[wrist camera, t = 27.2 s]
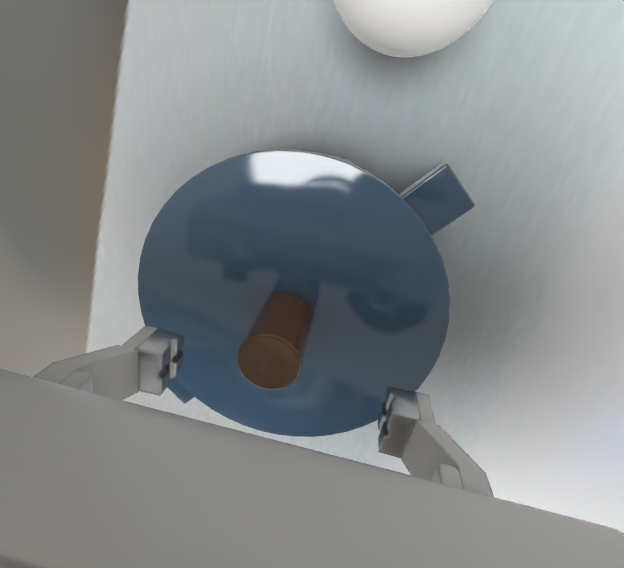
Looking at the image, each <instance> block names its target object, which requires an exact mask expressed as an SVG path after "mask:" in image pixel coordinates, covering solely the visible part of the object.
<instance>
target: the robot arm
mask: <svg viewBox="0 0 624 568" xmlns="http://www.w3.org/2000/svg"><path fill="white" fill-rule="evenodd" d="M183 346H184V336H183V335H180V334H177V333H173V332H169V331H166V330H162V329H158V328H154V327H150V326H145V327H143V328H142V329H141V330H140V331H139V332H137V333H136V334H135V335H134V336H133V337H131V338H130V339H129V340H128V341H127V342H125V343H124V344H123V345H122V346H120V345H116V346H112V347H109V348H105V349H101V350H98V351H94V352H90V353H86V354H83V355H79V356H75V357H72V358H68V359H64V360H60V361H57V362H54V363H52V364H50V365H49V366H48V367H46V368H45V369H43V370H42V371H41V372H39V373H38V374H36V375H35V376H34V377H30V376H26V375H22V374H18V373H14V372H10V371H7V370H2V369H0V568H624V533H622V532H620V531H618V530H616V529H613V528H610V527H607V526H603V525H599V524H596V523H592V522H588V521H584V520H580V519H576V518H572V517H569V516H565V515H561V514H557V513H553V512H549V511H545V510H541V509H537V508H534V507H530V506H526V505H522V504H518V503H514V502H510V501H506V500H503V499H499V498H495V497H494V496H493V493H492V490H491V487H490V484H489V481H488V478H487V475H486V473H485V472H484V471H483V470H482V469H481V468H480V467H479V466H478V465H477V464H476V463H475V462H474V461H473V460H472V459H471V458H470V457H469V456H468V454H467V453H466V452H465V451H464V450H463V449H462V448H461V447H460V446H459V445H458V444H457V443H456V442H455V441H454V440H453V439H452V438H451V437H450V436H449V435H448V434H447V433H446V432H445V431H444V430H443V429H442V427H441V426H439V425H436V423H435V419H434V414H433V410H432V406H431V401H430V397H429V395H428V394H423V393H419V392H412V391H408V390H404V389H400V388H395V387H391V386H388V388H387V390H386V393H385V402H384V403H382V405H381V409H380V413H379V418H378V429H379V431H380V434H379V437H378V445H379V452H381V453H384V454H388V455H391V456H395V457H398V458H402V461H403V463H404V464H405V466H406V468H407V469H408V471H409V472H410V474H411V475H407V474H403V473H399V472H395V471H391V470H388V469H384V468H380V467H376V466H372V465H368V464H365V463H361V462H357V461H353V460H349V459H345V458H341V457H338V456H334V455H330V454H326V453H322V452H318V451H315V450H311V449H307V448H303V447H299V446H295V445H291V444H288V443H284V442H280V441H276V440H272V439H268V438H264V437H261V436H257V435H253V434H249V433H245V432H241V431H238V430H234V429H230V428H226V427H222V426H218V425H214V424H211V423H207V422H203V421H199V420H195V419H191V418H188V417H184V416H180V415H176V414H172V413H168V412H165V411H161V410H157V409H153V408H149V407H145V406H141V405H138V404H134V403H130V402H126V401H122V400H123V399H125V398H127V397H129V396H131V395H133V394H135V393H137V392H138V391H142V392H146V393H151V394H155V395H161V394H162V393H163V392H164V390H165V389H166V388H167V387H168V386H169V380H170V379H172V378H174V377H176V375H177V374H178V373H179V371H180V369H181V367H182V363H183V356H184V354H183V352H182V351H181V348H182V347H183Z"/></svg>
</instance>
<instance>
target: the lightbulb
mask: <svg viewBox="0 0 624 568" xmlns="http://www.w3.org/2000/svg"><path fill="white" fill-rule="evenodd" d="M493 2H494V0H333V3H334V5H335V8H336V10H337V12H338V14H339V16H340V18H341V19H342V21H343V22H344V24H345V25H346V27H347V28H348V29H349V30H350V32H351V33H352V34H353V35H354V36H355V37H356V38H357V39H358V40H359V41H361V42H362V43H363V44H364V45H366V46H367V47H369V48H371V49H373V50H375V51H377V52H379V53H382V54H385V55H388V56H393V57H404V58H405V57H417V56H422V55H426V54H430V53H433V52H435V51H438V50H440V49H442V48H444V47H446V46H448V45H449V44H451V43H453V42H454V41H456V40H457V39H459V38H460V37H461V36H463V35H464V34H465V33H466V32H467V31H469V30H470V29H471V28H472V27H473V26H474V25H475V24H476V23H477V22H478V21H479V20H480V19H481V17H482V16H483V15H484V14H485V13H486V11H487V10H488V9H489V7H490V6H491V5H492V3H493Z"/></svg>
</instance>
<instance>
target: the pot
mask: <svg viewBox="0 0 624 568" xmlns="http://www.w3.org/2000/svg"><path fill="white" fill-rule="evenodd" d="M329 156H330V155H329ZM332 157H335V158H338V159H341V160H344V161H347V162H350V163H352V162H351V161H349V160H347V159H345V158H344V157H338V156H332ZM352 164H354V163H352ZM354 165H356V164H354ZM356 166H357V165H356ZM358 167H359V166H358ZM360 168H361V167H360ZM362 169H363V168H362ZM364 170H365V169H364ZM374 176H375V175H374ZM377 178H378V177H377ZM379 179H380V178H379ZM380 180H381V179H380ZM382 181H383V180H382ZM383 182H384V181H383ZM399 195H400V196H401V197H402V198H403V199H405V200H406V201H407V202H408V204H409V205H410V206H411V207H412V209H413V210H414V211H415V212H416V213H417V215H418V216H419V217H420V218H421V220H422V221H423V223H424V224H425V226H426V227H427V229H428V231H429V232H430V234H431V236H432V235H434V234H435V233H437V232H438V231H439V230H441V229H442V228H444V227H445V226H447V225H448V224H450V223H451V222H453V221H454V220H456V219H457V218H459V217H460V216H462V215H463V214H465V213H466V212H467V211H469V210H470V209H472V208H473V207H474V206H475V204H474V203H473V201H472V200H471V198H470V197H469V195H468V194H467V192H466V191H465V189H464V188H463V186H462V185H461V183H460V182H459V180H458V179H457V177H456V176H455V174H454V173H453V171H452V170H451V168H450V167H449V165H448V164H446V163H443V162H442V163H440V164H439V165H438V166H436V167H435V168H434V169H432V170H431V171H429V172H428V173H427V174H425V175H424V176H423V177H421V178H420V179H419V180H417V181H416V182H415V183H413V184H412V185H411V186H409V187H408V188H407V189H405V190H404V191H403V192H401V193H400V194H399ZM168 388H169V389H170V390H171V391H172V392H173V393H174V394H175V395H176V396H177V397H178V398H179V399H180V400H181V401H182V402H183V403H186V402H188V401H189V400H191V399H192V398H194V397H195V396H194V395H192V394H191V393H190V392H189V391H188V390H187V389H186V388H185V387H184V386H183V385H182V384H181V383H180V382H179V381H178V380H177V379H176V378H175V377H174V378H172V379H170V380H169V386H168Z"/></svg>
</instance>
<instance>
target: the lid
mask: <svg viewBox="0 0 624 568" xmlns="http://www.w3.org/2000/svg"><path fill="white" fill-rule="evenodd" d="M138 294H139V300H140V307H141V312H142V316H143V319H144V323H145V326H150V327H154V328H158V329H162V330H166V331H169V332H173V333H177V334H180V335H183V336H184V346H183V347H182V348H181V351H182V352H183V354H184V356H183V363H182V367H181V369H180V371H179V373H178V374H177V375H176V377H175V378H176V379H177V380H178V381H179V382H180V383H181V384H182V385H183V386H184V387H185V388H186V389H187V390H188V391H189V392H190V393H191V394H192V395H194V396H195V397H196V398H197V399H198V400H200V401H201V402H203V403H204V404H205V405H207V406H208V407H210V408H211V409H212V410H214V411H216V412H218V413H220V414H221V415H223V416H225V417H227V418H229V419H231V420H233V421H235V422H238V423H240V424H242V425H245V426H248V427H251V428H254V429H257V430H260V431H264V432H269V433H273V434H279V435H287V436H303V437H313V436H325V435H332V434H337V433H342V432H347V431H350V430H353V429H356V428H360V427H363V426H365V425H367V424H369V423H372V422H374V421H376V420H378V418H379V413H380V409H381V405H382V403H384V402H385V393H386V390H387V388H388V386H391V387H395V388H400V389H404V390H408V391H412V392H415V391H416V390H417V389H418V388H419V387H420V386H421V384H422V383H423V382H424V380H425V379H426V377H427V376H428V375H429V373H430V372H431V370H432V368H433V366H434V364H435V363H436V361H437V359H438V357H439V355H440V352H441V349H442V346H443V343H444V341H445V338H446V332H447V327H448V322H449V310H450V296H449V286H448V279H447V275H446V271H445V267H444V263H443V260H442V257H441V255H440V253H439V250H438V248H437V246H436V243H435V241H434V239H433V237H432V236H431V234H430V232H429V231H428V229H427V227H426V226H425V224H424V223H423V221H422V220H421V218H420V217H419V216H418V215H417V213H416V212H415V211H414V210H413V209H412V207H411V206H410V205H409V204H408V202H407V201H406V200H405V199H403V198H402V197H401V196H400V195H399V194H398V193H397V192H396V191H395V190H394V189H392V188H391V187H390V186H389V185H388V184H386V183H385V182H383V181H382V180H380V179H379V178H377V177H376V176H374V175H373V174H372V173H370V172H368V171H366V170H364V169H362V168H360V167H358V166H356V165H354V164H352V163H350V162H347V161H344V160H341V159H338V158H335V157H332V156H329V155H326V154H321V153H316V152H310V151H305V150H288V149H277V150H266V151H257V152H252V153H248V154H244V155H240V156H236V157H232V158H229V159H227V160H225V161H222V162H220V163H217V164H215V165H212V166H210V167H209V168H207V169H205V170H204V171H202V172H200V173H199V174H197V175H195V176H194V177H192V178H191V179H190V180H189V181H188V182H186V183H185V184H184V185H183V186H182V187H180V188H179V189H178V190H177V191H176V192H175V193H174V194H173V195H172V197H171V198H170V199H169V200H168V201H167V202H166V203H165V204H164V206H163V207H162V209H161V210H160V212H159V213H158V215H157V217H156V218H155V220H154V221H153V223H152V226H151V228H150V230H149V232H148V235H147V237H146V239H145V243H144V246H143V250H142V254H141V257H140V265H139V273H138Z"/></svg>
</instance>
